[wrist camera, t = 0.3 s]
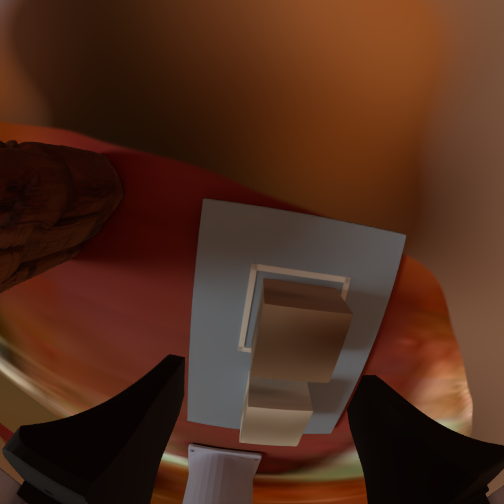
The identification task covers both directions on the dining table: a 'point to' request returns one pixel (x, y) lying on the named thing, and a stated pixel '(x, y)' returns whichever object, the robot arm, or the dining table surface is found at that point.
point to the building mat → (284, 269)
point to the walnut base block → (298, 332)
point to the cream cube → (274, 411)
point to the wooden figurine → (50, 205)
